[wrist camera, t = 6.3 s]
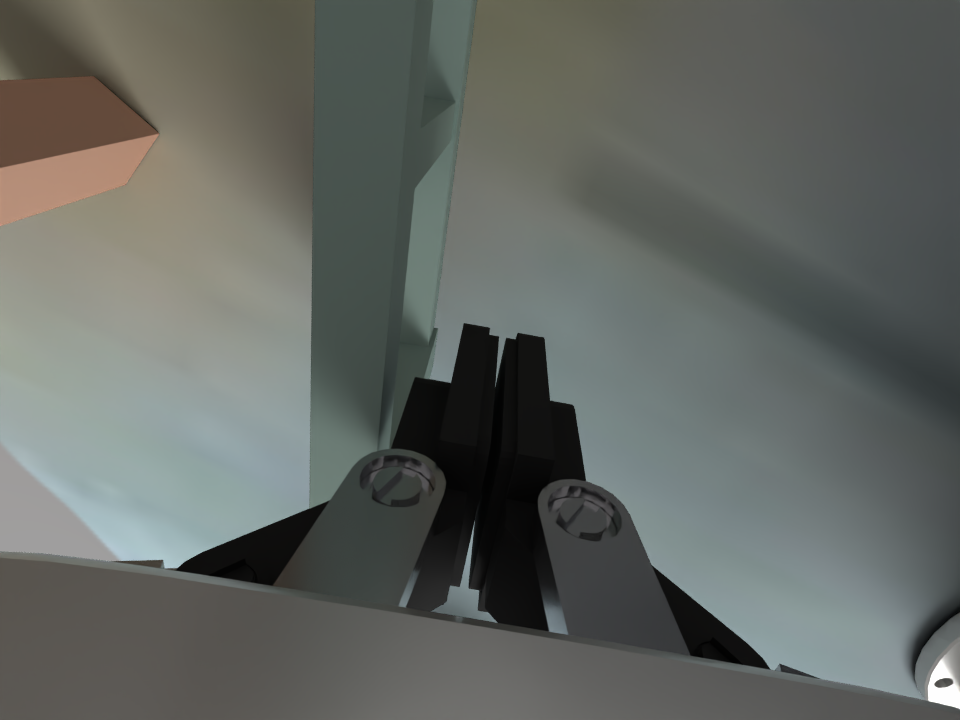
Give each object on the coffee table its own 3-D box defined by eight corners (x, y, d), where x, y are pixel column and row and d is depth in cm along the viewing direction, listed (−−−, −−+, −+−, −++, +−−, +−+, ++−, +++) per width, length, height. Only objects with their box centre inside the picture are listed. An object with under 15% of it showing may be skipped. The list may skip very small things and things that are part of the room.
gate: (452, -362, 12) (216, -1946, 3) (541, -343, 12) (641, -1823, 3) (389, 350, 21) (281, 602, 11) (441, 359, 21) (378, 617, 11)
